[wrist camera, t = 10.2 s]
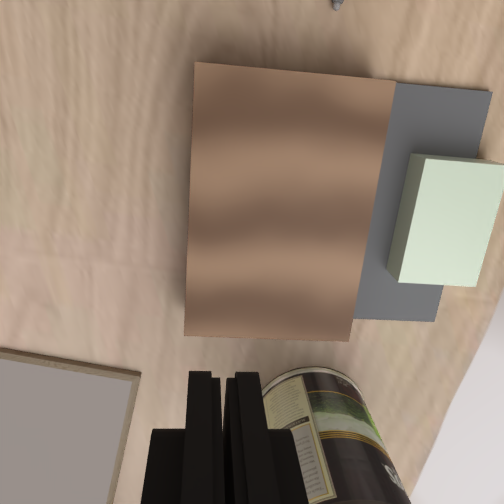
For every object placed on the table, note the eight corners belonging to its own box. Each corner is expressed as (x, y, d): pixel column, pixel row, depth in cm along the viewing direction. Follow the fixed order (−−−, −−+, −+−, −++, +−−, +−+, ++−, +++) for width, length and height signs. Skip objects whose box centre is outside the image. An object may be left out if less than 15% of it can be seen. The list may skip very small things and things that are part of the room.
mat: (378, 81, 31) (380, 81, 31) (489, 91, 32) (492, 91, 31) (338, 315, 37) (340, 318, 37) (432, 319, 38) (434, 321, 38)
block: (510, 166, 31) (489, 160, 33) (425, 158, 30) (410, 152, 32) (475, 286, 34) (458, 273, 36) (398, 282, 33) (386, 269, 36)
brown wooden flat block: (197, 64, 30) (194, 61, 26) (374, 80, 31) (396, 80, 27) (187, 309, 36) (183, 335, 32) (335, 315, 37) (348, 341, 33)
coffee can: (358, 354, 39) (431, 495, 25) (369, 446, 42) (438, 611, 29) (239, 378, 39) (252, 532, 25) (261, 468, 42) (281, 644, 29)
